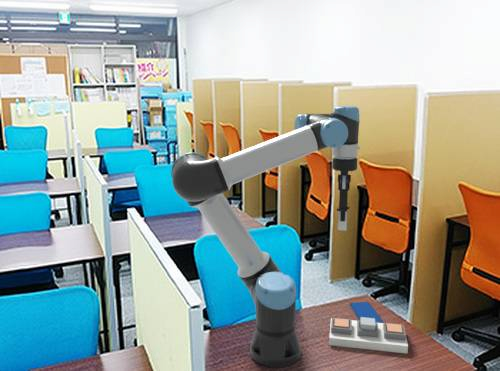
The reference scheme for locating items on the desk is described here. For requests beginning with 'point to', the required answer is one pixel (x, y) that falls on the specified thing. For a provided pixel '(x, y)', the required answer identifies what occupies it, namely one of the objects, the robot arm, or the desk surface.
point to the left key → (341, 323)
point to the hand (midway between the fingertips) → (342, 229)
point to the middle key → (367, 324)
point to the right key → (394, 328)
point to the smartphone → (365, 311)
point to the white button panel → (368, 337)
